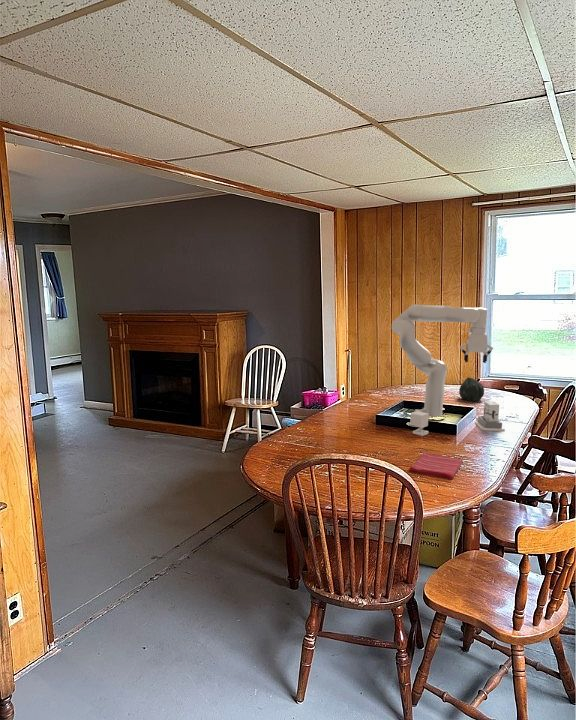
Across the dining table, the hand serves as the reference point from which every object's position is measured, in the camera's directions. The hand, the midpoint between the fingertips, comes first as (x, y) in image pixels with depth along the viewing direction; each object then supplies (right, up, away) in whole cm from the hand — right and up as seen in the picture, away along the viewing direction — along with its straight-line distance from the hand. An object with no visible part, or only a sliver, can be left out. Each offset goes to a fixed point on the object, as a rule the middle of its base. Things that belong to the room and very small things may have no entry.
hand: (475, 362), depth 290 cm
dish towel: (-42, -43, -74) cm, 95 cm away
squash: (+13, -24, +45) cm, 53 cm away
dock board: (+2, -33, -14) cm, 36 cm away
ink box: (+2, -32, -15) cm, 36 cm away
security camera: (-38, -35, -29) cm, 59 cm away
